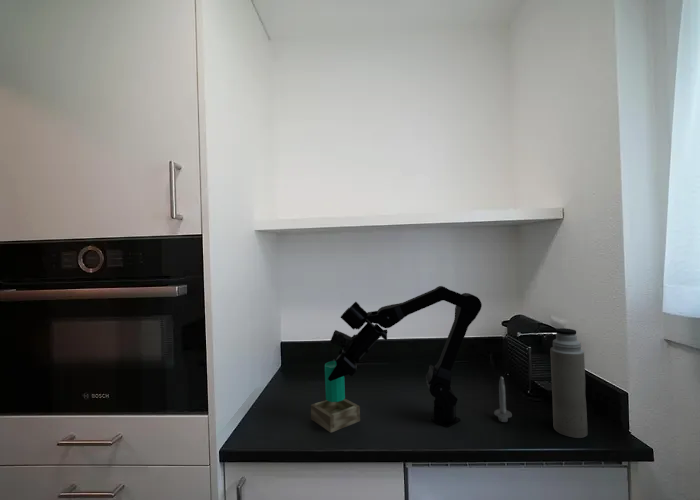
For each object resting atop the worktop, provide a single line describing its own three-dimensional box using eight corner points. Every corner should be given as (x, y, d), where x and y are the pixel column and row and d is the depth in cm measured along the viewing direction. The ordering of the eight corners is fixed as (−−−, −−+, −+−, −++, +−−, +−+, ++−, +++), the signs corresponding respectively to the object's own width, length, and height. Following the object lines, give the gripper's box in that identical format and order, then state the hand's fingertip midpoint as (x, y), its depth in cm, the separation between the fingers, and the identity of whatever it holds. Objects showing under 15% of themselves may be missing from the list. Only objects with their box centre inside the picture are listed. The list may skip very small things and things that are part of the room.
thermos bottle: (579, 424, 100) (574, 326, 100) (593, 438, 92) (588, 332, 92) (549, 422, 101) (545, 326, 101) (560, 437, 93) (556, 332, 94)
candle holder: (339, 409, 114) (339, 395, 114) (360, 420, 106) (359, 406, 106) (311, 419, 108) (310, 404, 108) (330, 432, 99) (330, 416, 99)
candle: (330, 393, 111) (328, 355, 111) (347, 395, 109) (346, 356, 109) (322, 401, 105) (321, 361, 105) (341, 403, 103) (339, 362, 103)
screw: (503, 425, 100) (490, 418, 105) (515, 421, 102) (502, 415, 107) (502, 380, 100) (489, 375, 105) (514, 377, 102) (501, 372, 107)
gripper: (347, 316, 116) (316, 350, 117) (342, 328, 98) (305, 368, 98) (372, 339, 116) (340, 373, 116) (371, 355, 97) (333, 395, 98)
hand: (330, 376), depth 107 cm, fingers closed on candle, 5 cm apart
